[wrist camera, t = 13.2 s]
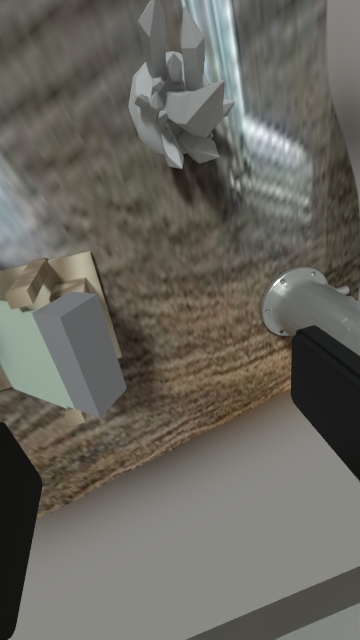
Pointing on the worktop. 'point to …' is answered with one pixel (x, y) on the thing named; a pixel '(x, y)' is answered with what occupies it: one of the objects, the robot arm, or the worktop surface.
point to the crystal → (175, 92)
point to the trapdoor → (62, 353)
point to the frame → (53, 296)
